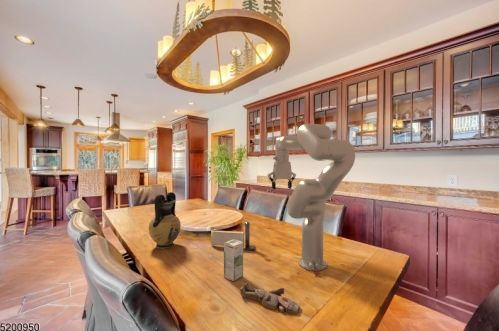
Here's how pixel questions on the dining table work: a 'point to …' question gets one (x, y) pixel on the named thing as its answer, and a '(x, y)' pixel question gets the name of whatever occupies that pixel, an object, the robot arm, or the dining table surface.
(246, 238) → the gate post
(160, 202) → the amphora
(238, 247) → the syrup box
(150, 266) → the dining table surface
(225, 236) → the gate leaf
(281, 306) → the figurine
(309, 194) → the robot arm
